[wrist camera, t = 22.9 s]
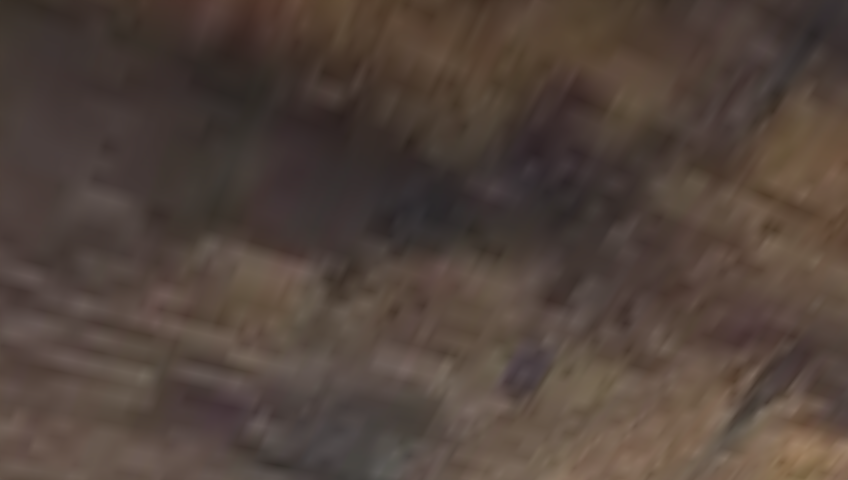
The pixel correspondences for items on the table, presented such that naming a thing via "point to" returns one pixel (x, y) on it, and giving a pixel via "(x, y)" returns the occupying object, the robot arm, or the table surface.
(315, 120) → the table surface
